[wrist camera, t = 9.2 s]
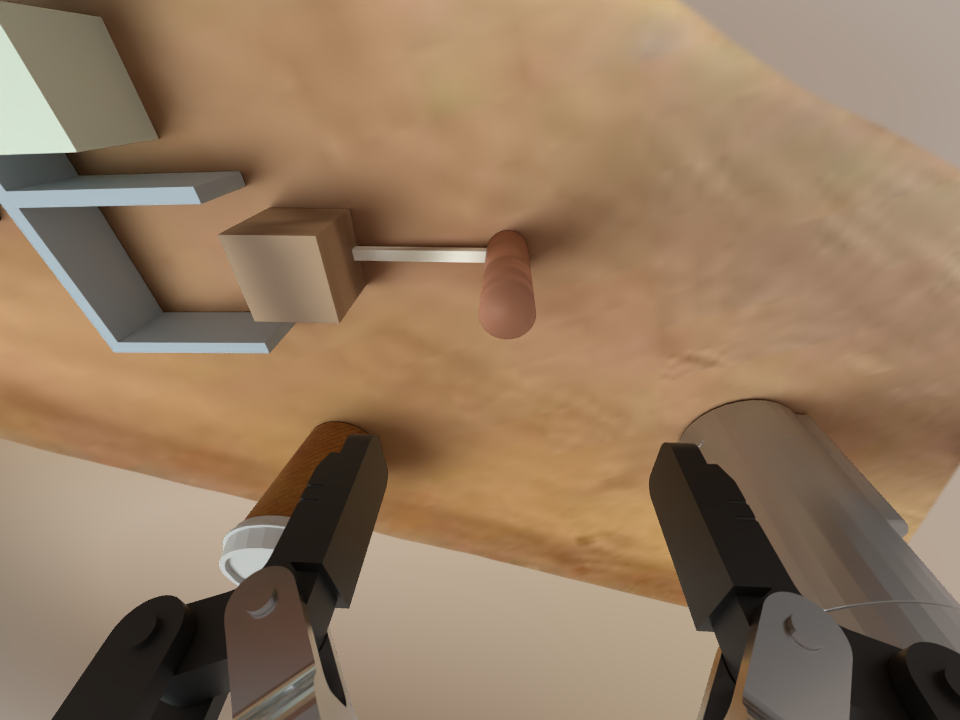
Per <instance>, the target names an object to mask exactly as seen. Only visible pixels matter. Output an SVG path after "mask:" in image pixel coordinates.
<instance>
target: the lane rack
mask: <svg viewBox="0 0 960 720" xmlns="http://www.w3.org/2000/svg"><path fill="white" fill-rule="evenodd" d="M245 186H246V185H245V182H244V180H243V177H242V175H241V172H240V171H225V172H189V173H154V174H118V175H83V176H79V175H78V174H77V172H76V170H75V169H74V167H73V165H72V164H71V162H70V161H69V159H68V157H67V156H66V154H65V153H42V154H12V155H0V204H1V205H2V206H3V207H4V209H5V210H6V211H7V213H8V214H9V215H10V217H11V218H12V219H13V221H14V222H15V223H16V225H17V226H18V227H19V228H20V230H21V231H22V232H23V234H24V235H25V236H26V238H27V239H28V240H29V242H30V243H31V244H32V245H33V247H34V248H35V249H36V251H37V252H38V253H39V255H40V256H41V257H42V259H43V260H44V261H45V262H46V264H47V265H48V266H49V268H50V269H51V270H52V272H53V273H54V274H55V276H56V277H57V278H58V280H59V281H60V282H61V283H62V285H63V286H64V287H65V289H66V290H67V291H68V293H69V294H70V295H71V297H72V298H73V299H74V300H75V302H76V303H77V304H78V306H79V307H80V308H81V310H82V311H83V312H84V314H85V315H86V316H87V318H88V319H89V320H90V321H91V323H92V324H93V325H94V327H95V328H96V329H97V331H98V332H99V333H100V335H101V336H102V337H103V338H104V340H105V341H106V342H107V344H108V345H109V346H110V348H111V349H112V350H113V352H141V353H270V352H271V351H272V350H273V349H274V347H275V346H276V345H277V344H278V343H279V342H280V341H281V339H282V338H283V337H284V336H285V335H286V334H287V333H288V331H289V330H290V329H291V328H292V327H293V326H294V325H295V323H296V322H259V321H254V319H253V316H252V314H251V312H163V311H162V310H161V308H160V306H159V305H158V303H157V301H156V300H155V298H154V297H153V295H152V293H151V292H150V290H149V288H148V287H147V285H146V284H145V282H144V280H143V279H142V277H141V276H140V274H139V272H138V271H137V269H136V267H135V266H134V264H133V263H132V261H131V259H130V258H129V256H128V254H127V253H126V251H125V250H124V248H123V246H122V245H121V243H120V242H119V240H118V238H117V237H116V235H115V233H114V232H113V230H112V229H111V227H110V225H109V224H108V222H107V221H106V219H105V217H104V216H103V214H102V212H101V211H100V209H99V208H98V206H130V205H175V204H202V203H205V202H207V201H210V200H212V199H215V198H217V197H220V196H222V195H225V194H227V193H230V192H232V191H235V190H237V189H240V188H242V187H245Z"/></svg>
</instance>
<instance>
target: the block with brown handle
mask: <svg viewBox="0 0 960 720" xmlns="http://www.w3.org/2000/svg"><path fill="white" fill-rule="evenodd" d="M218 237H219V239H220V242H221V244H222V246H223V249H224V251H225V253H226V256H227V258H228V260H229V263H230V265H231V267H232V270H233V272H234V274H235V277H236V279H237V281H238V284H239V286H240V288H241V291H242V293H243V295H244V298H245V300H246V302H247V305H248V307H249V309H250V312H251V314H252V316H253V319H254V321H259V322H299V323H340V322H341V320H342V319H343V317H344V316H345V314H346V313H347V312H348V310H349V309H350V307H351V306H352V304H353V303H354V302H355V300H356V299H357V297H358V296H359V294H360V293H361V292H362V290H363V289H364V287H365V286H366V284H365V279H364V274H363V269H362V265H361V261H413V262H476V263H485V265H484V274H483V282H482V290H481V298H480V306H479V321H480V323H481V325H482V327H483V328H484V330H485V331H486V332H487V333H489V334H490V335H492V336H494V337H496V338H500V339H514V338H518V337H520V336H522V335H524V334H525V333H527V332H528V331H529V330H530V329H531V327H532V326H533V324H534V322H535V319H536V309H535V301H534V293H533V285H532V277H531V269H530V261H529V253H528V246H527V243H526V241H525V239H524V238H523V237H522V236H521V235H520V234H519V233H517V232H514V231H501V232H499V233H497V234H495V235H494V236H493V237H492V238H491V239H490V241H489V242H488V245H487V248H454V247H381V246H358V245H357V240H356V236H355V231H354V226H353V221H352V216H351V212H350V208H268V209H266V210H264V211H262V212H260V213H258V214H256V215H254V216H252V217H251V218H249V219H247V220H245V221H243V222H241V223H239V224H237V225H235V226H233V227H231V228H230V229H228V230H226V231H224V232H222V233H220V234H218Z"/></svg>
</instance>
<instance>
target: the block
mask: <svg viewBox="0 0 960 720" xmlns="http://www.w3.org/2000/svg"><path fill="white" fill-rule="evenodd" d="M156 139H159V138H158V136H157V134H156V132H155V129H154V127H153V125H152V123H151V121H150V119H149V117H148V115H147V113H146V111H145V108H144V106H143V104H142V102H141V100H140V98H139V96H138V94H137V92H136V89H135V87H134V85H133V83H132V81H131V79H130V77H129V75H128V73H127V71H126V68H125V66H124V64H123V62H122V60H121V58H120V56H119V54H118V52H117V49H116V47H115V45H114V43H113V41H112V39H111V37H110V35H109V33H108V31H107V28H106V26H105V24H104V22H103V20H102V18H101V17H97V16H91V15H85V14H79V13H72V12H66V11H60V10H54V9H47V8H41V7H35V6H29V5H23V4H16V3H10V2H4V1H0V155H12V154H42V153H72V152H82V151H89V150H95V149H101V148H107V147H113V146H119V145H125V144H131V143H137V142H144V141H150V140H156Z"/></svg>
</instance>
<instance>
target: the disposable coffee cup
mask: <svg viewBox="0 0 960 720" xmlns="http://www.w3.org/2000/svg"><path fill="white" fill-rule="evenodd" d="M350 434H367V433H366V432H364V431H363V430H361V429H359V428H358V427H355V426H353V425H350V424H346V423H341V422H328V423H323V424H321V425H318V426H317V427H315V428H314V429H313V431H312V432H311V433H310V435H309V436H308V437H307V438H306V440H305V441H304V443H303V444H302V445H301V446H300V448H299V449H298V450H297V452H296V453H295V454H294V456H293V457H292V458H291V459H290V461H289V462H288V463H287V465H286V466H285V467H284V469H283V470H282V471H281V473H280V474H279V475H278V477H277V478H276V479H275V481H274V482H273V483H272V484H271V486H270V487H269V488H268V490H267V491H266V492H265V494H264V495H263V496H262V498H261V499H260V500H259V502H258V503H257V504H256V505H255V507H254V508H253V510H252V511H251V512H250V513H249V515H248V516H247V517H246V519H245V520H244V521H243V522H241V523H239V524H238V525H237V527H235V528H233V529H232V530H231V531H230V532H228V533H227V535H226V536H225V538H224V540H223V548H224V550H223V553H222V555H221V558H220V561H219V565H220V570H221V571H222V573H223V574H224V575H225V576H226V577H228V579H230V580H231V581H232V582H233V583H235V584H236V585H238V586H239V585H240V584H241V583H242V582H243V581H244V580H245V579H246V578H247V577H249V576H250V575H251V574H253V573H255V572H256V571H258V570H260V569H262V568H263V567H264V565H265V564H266V563H267V561H268V560H269V558H270V556H271V554H272V552H273V550H274V548H275V546H276V545H277V543H278V541H279V539H280V537H281V535H282V533H283V531H284V529H285V527H286V525H287V523H288V521H289V519H290V517H291V515H292V513H293V511H294V509H295V507H296V505H297V503H298V502H300V497H301V495H302V493H303V491H304V490H305V488H307V484H308V482H309V480H310V478H311V476H312V474H313V472H314V470H315V468H316V466H317V465H318V464H319V463H320V462H321V461H322V460H323V459H324V458H325V457H326V456H327V455H328V454H329V453H330V452H338V453H340V452H341V449H342V447H343V445H344V443H345V441H346V439H347V437H348V436H349V435H350Z"/></svg>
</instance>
